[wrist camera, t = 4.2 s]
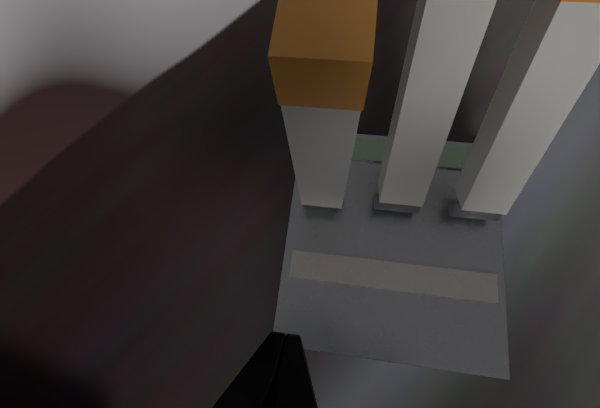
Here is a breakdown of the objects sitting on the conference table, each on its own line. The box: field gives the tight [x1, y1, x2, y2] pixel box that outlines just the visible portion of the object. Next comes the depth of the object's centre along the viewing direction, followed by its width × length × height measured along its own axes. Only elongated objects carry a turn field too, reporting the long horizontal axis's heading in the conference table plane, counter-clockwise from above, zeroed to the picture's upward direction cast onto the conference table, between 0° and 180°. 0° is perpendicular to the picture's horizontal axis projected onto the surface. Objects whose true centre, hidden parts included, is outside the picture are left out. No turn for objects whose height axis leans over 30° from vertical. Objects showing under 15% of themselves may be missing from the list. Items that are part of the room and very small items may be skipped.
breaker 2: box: [448, 0, 600, 221], centre depth 15 cm, size 2×3×13 cm
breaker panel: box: [273, 134, 510, 380], centre depth 21 cm, size 14×13×2 cm
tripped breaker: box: [268, 0, 378, 209], centre depth 14 cm, size 2×3×13 cm
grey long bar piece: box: [373, 0, 497, 214], centre depth 16 cm, size 2×3×13 cm
